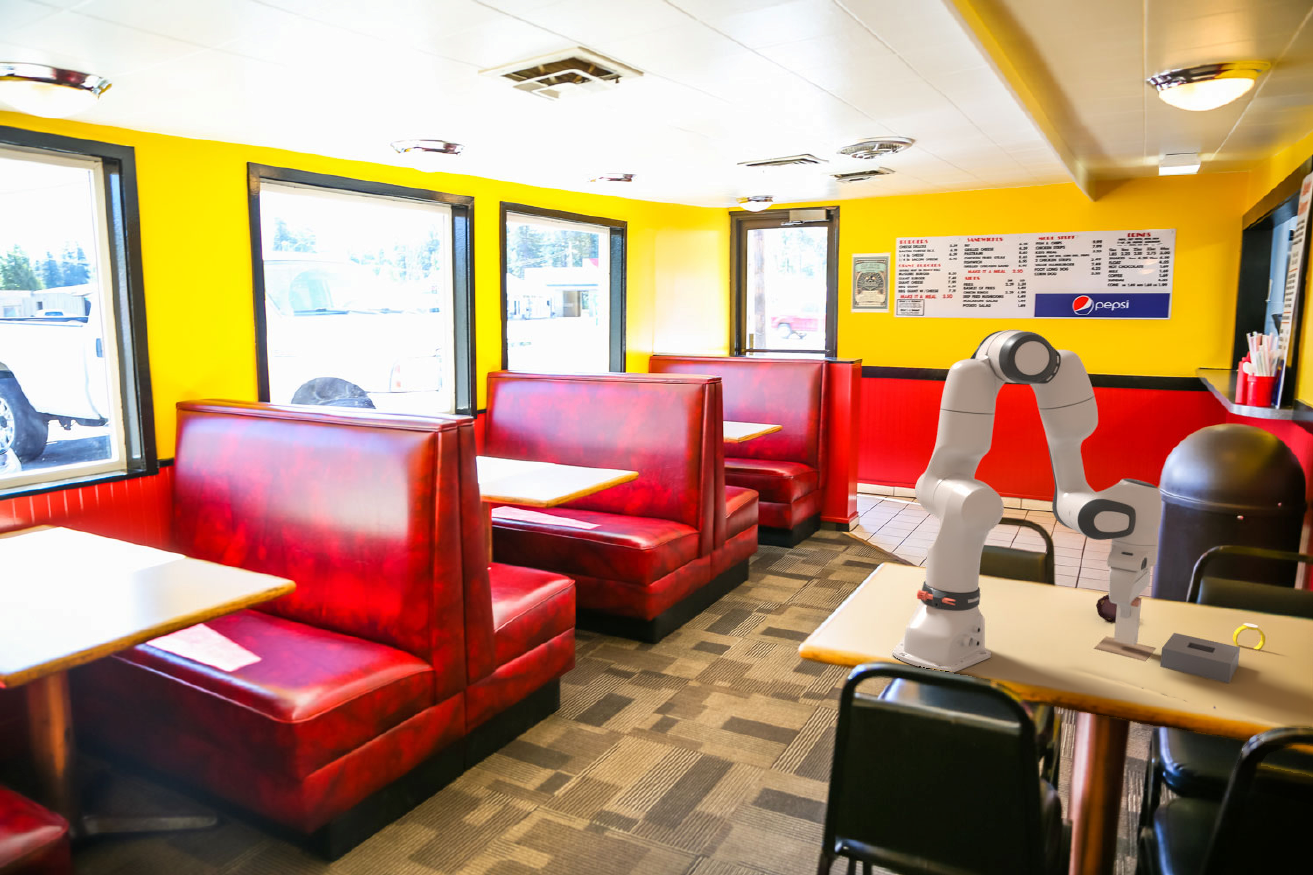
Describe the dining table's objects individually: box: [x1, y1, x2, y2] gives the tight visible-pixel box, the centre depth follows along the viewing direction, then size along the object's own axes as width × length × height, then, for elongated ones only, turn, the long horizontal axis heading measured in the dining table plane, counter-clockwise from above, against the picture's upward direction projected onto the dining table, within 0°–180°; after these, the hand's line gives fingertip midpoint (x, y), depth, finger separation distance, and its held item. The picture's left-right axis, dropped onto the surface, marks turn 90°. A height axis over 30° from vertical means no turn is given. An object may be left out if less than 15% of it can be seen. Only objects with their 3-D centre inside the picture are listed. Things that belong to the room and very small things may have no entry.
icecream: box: [1095, 592, 1117, 623], centre depth 205 cm, size 7×7×15 cm
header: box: [1160, 632, 1241, 684], centre depth 176 cm, size 12×12×5 cm
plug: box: [1113, 597, 1143, 646], centre depth 184 cm, size 3×4×10 cm
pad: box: [1093, 635, 1156, 662], centre depth 185 cm, size 10×10×1 cm
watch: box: [1232, 622, 1266, 650], centre depth 187 cm, size 6×3×6 cm, turn 79°
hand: (1127, 614), depth 184 cm, fingers closed on plug, 3 cm apart
